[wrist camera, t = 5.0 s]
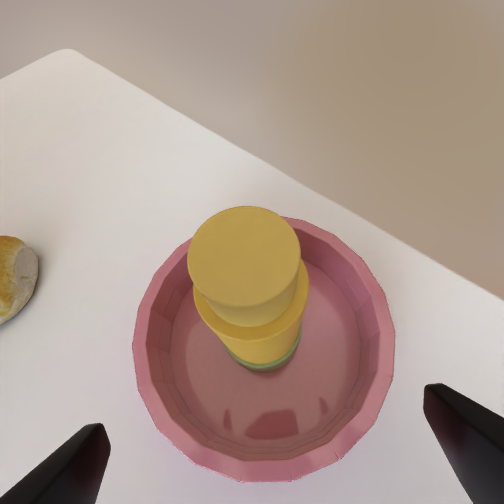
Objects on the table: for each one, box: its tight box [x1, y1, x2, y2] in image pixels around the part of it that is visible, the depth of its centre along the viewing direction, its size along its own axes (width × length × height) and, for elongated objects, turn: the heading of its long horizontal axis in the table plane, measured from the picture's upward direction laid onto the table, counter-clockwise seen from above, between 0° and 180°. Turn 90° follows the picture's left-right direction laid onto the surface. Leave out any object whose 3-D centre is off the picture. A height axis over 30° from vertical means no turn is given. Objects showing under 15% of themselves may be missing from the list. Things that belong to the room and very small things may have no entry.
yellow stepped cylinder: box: [187, 206, 309, 373], centre depth 14 cm, size 5×5×12 cm
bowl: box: [132, 216, 395, 483], centre depth 18 cm, size 15×15×4 cm
